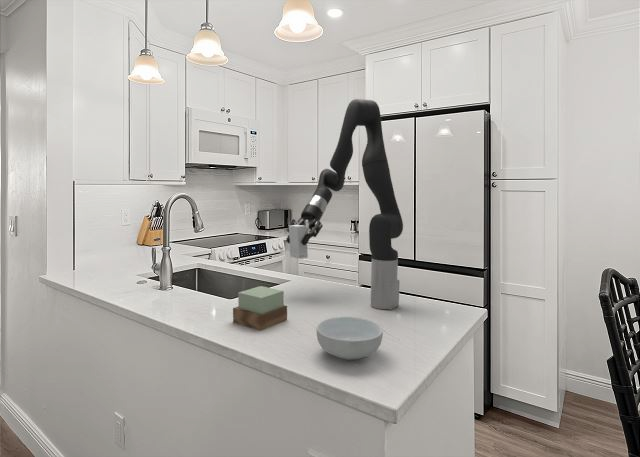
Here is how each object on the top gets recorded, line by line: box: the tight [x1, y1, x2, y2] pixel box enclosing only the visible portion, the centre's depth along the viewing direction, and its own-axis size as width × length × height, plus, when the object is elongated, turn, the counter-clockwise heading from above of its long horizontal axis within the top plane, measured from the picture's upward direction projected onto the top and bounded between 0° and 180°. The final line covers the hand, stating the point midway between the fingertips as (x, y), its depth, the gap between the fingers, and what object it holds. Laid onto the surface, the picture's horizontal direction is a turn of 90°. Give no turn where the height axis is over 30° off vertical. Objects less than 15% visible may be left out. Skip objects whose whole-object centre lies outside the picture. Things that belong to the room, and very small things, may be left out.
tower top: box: [237, 285, 285, 314], centre depth 127 cm, size 10×10×5 cm
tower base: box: [232, 305, 288, 331], centre depth 128 cm, size 12×12×5 cm
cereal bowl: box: [316, 316, 384, 361], centre depth 104 cm, size 17×17×7 cm
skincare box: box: [288, 224, 309, 260], centre depth 151 cm, size 6×4×12 cm
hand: (295, 243), depth 149 cm, fingers closed on skincare box, 6 cm apart
